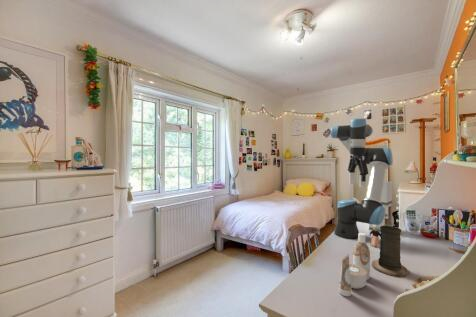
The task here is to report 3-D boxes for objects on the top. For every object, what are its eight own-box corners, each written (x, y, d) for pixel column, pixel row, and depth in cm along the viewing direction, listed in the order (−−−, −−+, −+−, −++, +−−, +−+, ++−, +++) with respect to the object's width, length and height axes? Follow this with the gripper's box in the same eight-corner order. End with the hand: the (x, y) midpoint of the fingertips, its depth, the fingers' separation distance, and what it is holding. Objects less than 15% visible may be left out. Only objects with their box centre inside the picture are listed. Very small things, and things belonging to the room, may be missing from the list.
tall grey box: (385, 233, 159) (387, 182, 158) (369, 229, 167) (370, 181, 166) (391, 230, 166) (392, 181, 166) (374, 226, 174) (375, 180, 174)
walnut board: (391, 261, 117) (392, 259, 117) (415, 275, 103) (415, 273, 103) (365, 262, 116) (365, 260, 115) (386, 277, 102) (386, 274, 102)
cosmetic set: (354, 303, 83) (355, 251, 83) (329, 292, 90) (330, 244, 90) (375, 278, 101) (375, 234, 101) (352, 270, 108) (353, 229, 107)
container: (405, 272, 104) (406, 231, 104) (382, 269, 106) (383, 230, 105) (395, 263, 113) (396, 225, 112) (375, 261, 114) (376, 224, 114)
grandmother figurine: (367, 245, 137) (367, 224, 137) (368, 243, 140) (369, 222, 140) (382, 249, 132) (382, 226, 132) (383, 247, 135) (384, 225, 135)
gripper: (342, 147, 141) (341, 182, 142) (360, 146, 116) (359, 189, 117) (355, 147, 140) (354, 182, 141) (376, 146, 115) (375, 189, 116)
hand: (357, 185), depth 129 cm, fingers open, 13 cm apart
